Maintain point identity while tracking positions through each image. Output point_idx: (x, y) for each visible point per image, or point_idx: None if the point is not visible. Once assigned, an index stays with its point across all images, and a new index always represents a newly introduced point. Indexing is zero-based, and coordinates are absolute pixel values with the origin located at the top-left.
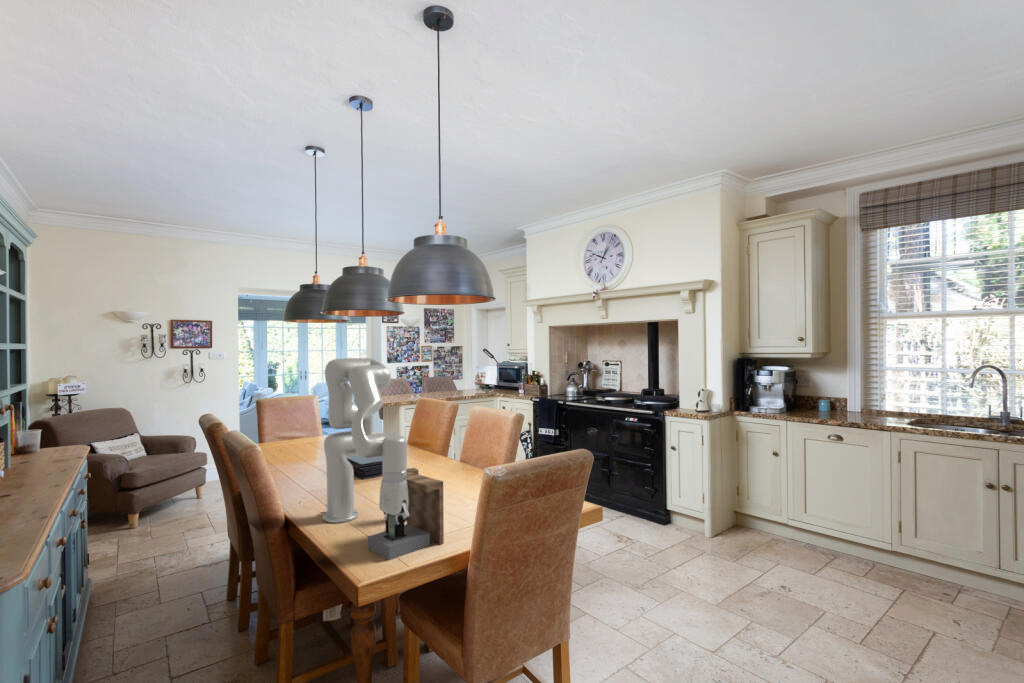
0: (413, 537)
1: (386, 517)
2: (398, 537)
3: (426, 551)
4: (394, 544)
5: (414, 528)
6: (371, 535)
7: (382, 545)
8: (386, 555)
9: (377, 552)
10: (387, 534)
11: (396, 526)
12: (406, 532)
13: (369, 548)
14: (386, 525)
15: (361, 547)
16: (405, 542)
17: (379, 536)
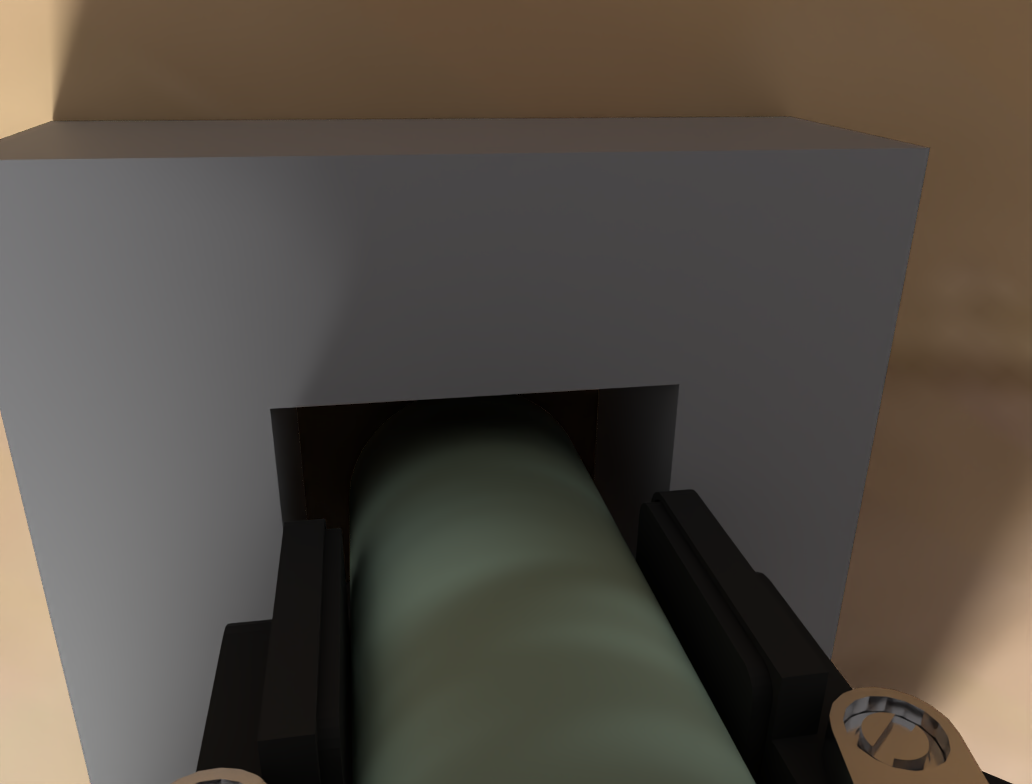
0: (136, 777)
1: (867, 771)
2: (351, 581)
3: (7, 724)
4: (18, 334)
5: None
6: (907, 240)
7: (292, 149)
8: (147, 127)
9: (484, 122)
10: None
11: (265, 723)
12: None
13: (753, 120)
14: (729, 594)
15: (946, 84)
16: (51, 576)
17: (722, 336)
